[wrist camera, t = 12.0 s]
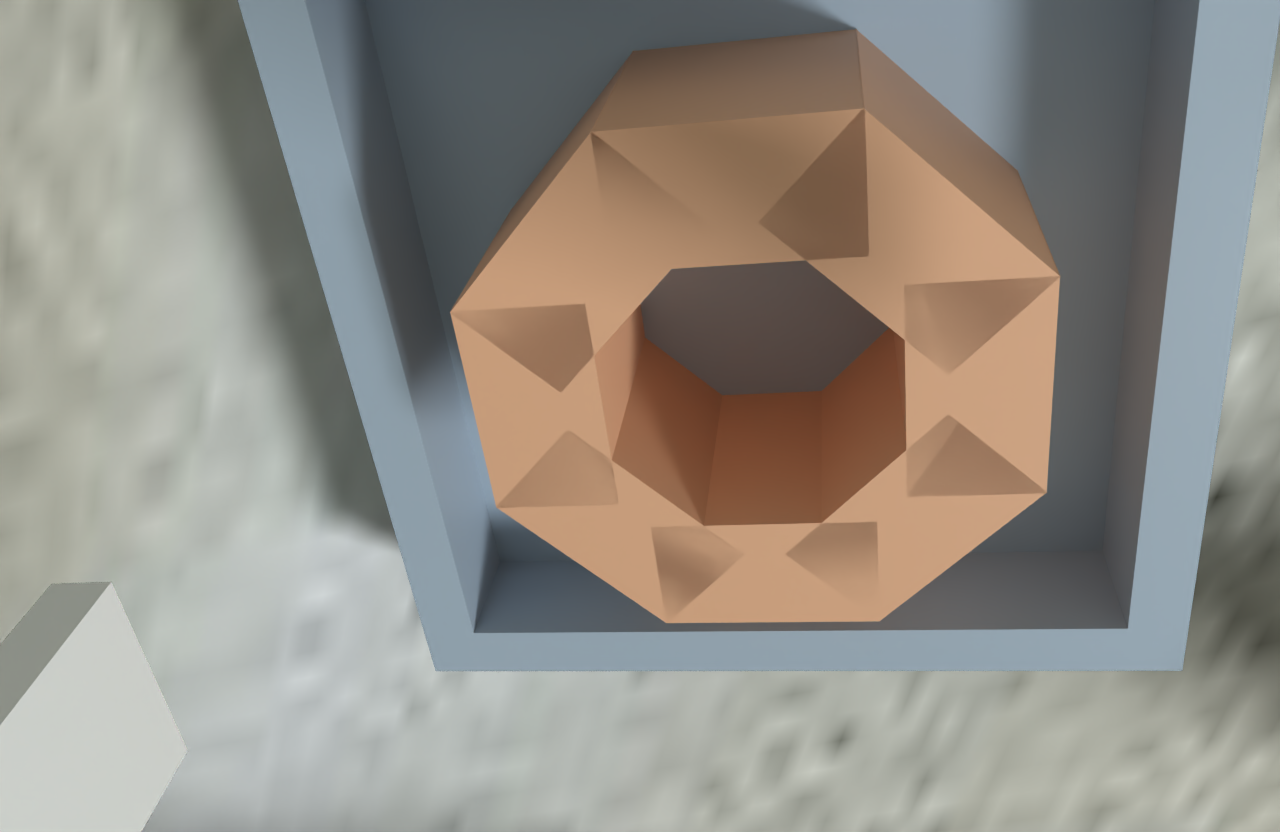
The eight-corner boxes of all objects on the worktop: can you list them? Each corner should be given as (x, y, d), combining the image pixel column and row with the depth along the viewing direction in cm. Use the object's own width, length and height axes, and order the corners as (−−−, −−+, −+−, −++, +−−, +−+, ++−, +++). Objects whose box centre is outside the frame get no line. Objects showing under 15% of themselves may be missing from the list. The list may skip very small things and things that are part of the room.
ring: (567, 488, 23) (523, 624, 20) (483, 64, 19) (410, 147, 16) (1005, 475, 22) (1039, 620, 18) (1024, 12, 17) (1072, 89, 14)
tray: (474, 575, 26) (435, 670, 23) (297, -107, 19) (215, -75, 16) (1143, 563, 23) (1182, 670, 21) (1237, -229, 16) (1315, -214, 14)
